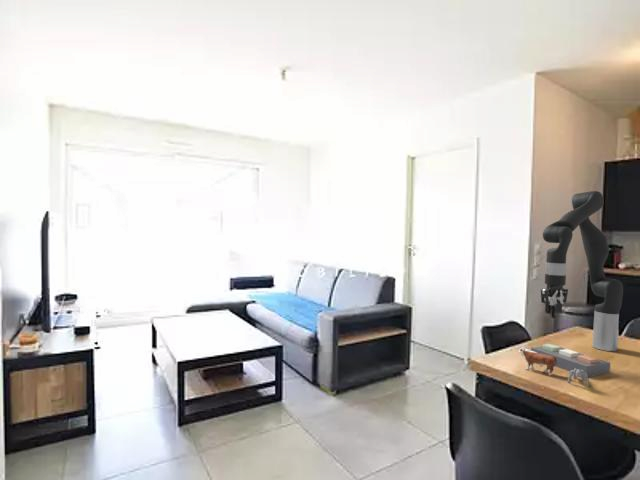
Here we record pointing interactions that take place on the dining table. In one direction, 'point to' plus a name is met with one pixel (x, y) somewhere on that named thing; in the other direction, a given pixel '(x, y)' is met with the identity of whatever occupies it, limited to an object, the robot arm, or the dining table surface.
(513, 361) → the dining table surface
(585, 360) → the terracotta button
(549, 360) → the bull figurine
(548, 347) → the sage button
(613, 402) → the dining table surface
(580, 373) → the grey human figurine
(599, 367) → the button panel
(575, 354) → the cream button
